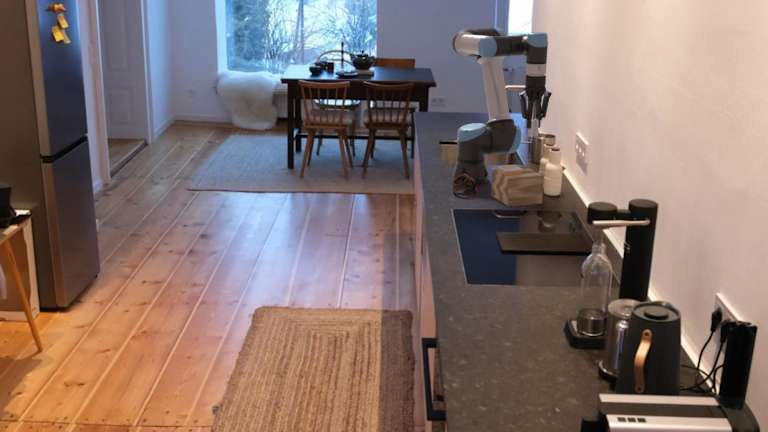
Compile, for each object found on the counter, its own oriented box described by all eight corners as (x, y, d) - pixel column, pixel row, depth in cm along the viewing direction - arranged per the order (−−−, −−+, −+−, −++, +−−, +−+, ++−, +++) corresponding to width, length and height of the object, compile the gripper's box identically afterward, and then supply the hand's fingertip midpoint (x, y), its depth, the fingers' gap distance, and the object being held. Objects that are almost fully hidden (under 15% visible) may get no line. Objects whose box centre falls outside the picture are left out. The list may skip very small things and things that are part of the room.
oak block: (491, 195, 338) (491, 168, 334) (523, 192, 342) (524, 165, 338) (508, 206, 323) (509, 178, 320) (542, 203, 327) (543, 175, 324)
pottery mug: (480, 196, 338) (471, 180, 334) (458, 205, 341) (449, 189, 337) (479, 181, 348) (470, 165, 345) (458, 190, 351) (449, 174, 347)
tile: (497, 171, 330) (498, 166, 330) (514, 169, 332) (514, 164, 332) (505, 175, 324) (505, 170, 323) (522, 174, 326) (522, 168, 325)
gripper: (522, 77, 314) (520, 140, 321) (558, 75, 318) (554, 137, 325) (513, 74, 321) (511, 135, 328) (548, 72, 325) (545, 133, 332)
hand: (532, 136), depth 327 cm, fingers closed
